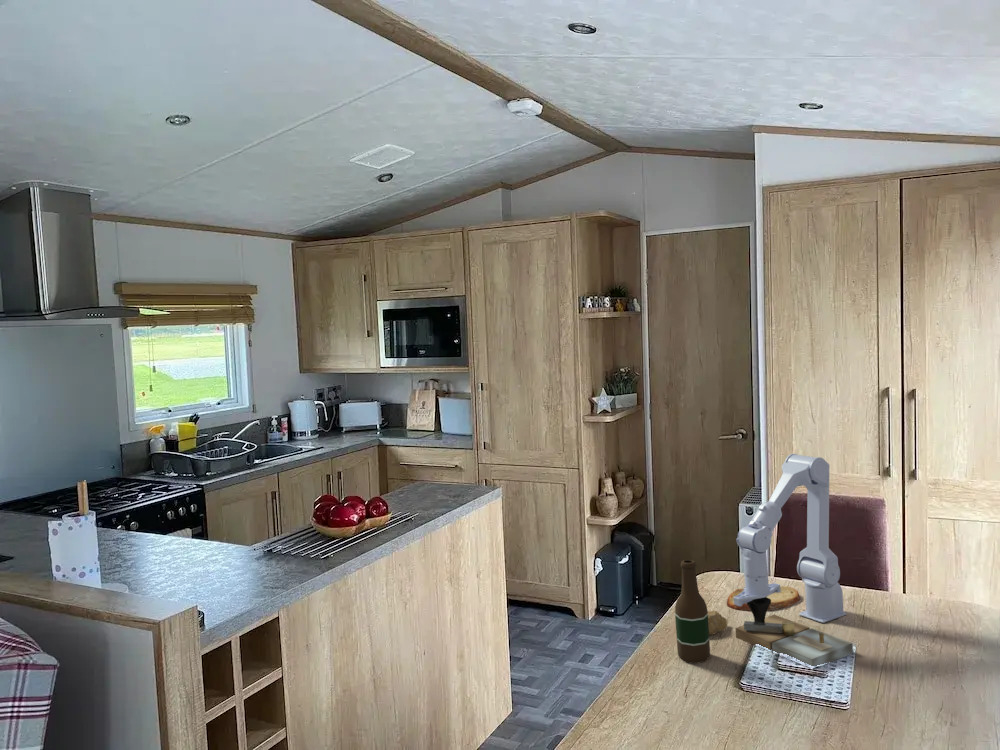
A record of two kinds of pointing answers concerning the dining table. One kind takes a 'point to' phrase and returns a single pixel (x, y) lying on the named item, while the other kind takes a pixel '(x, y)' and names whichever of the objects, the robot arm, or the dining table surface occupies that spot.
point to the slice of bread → (778, 600)
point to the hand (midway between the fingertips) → (759, 625)
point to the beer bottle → (691, 618)
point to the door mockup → (799, 642)
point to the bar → (771, 627)
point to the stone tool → (716, 622)
